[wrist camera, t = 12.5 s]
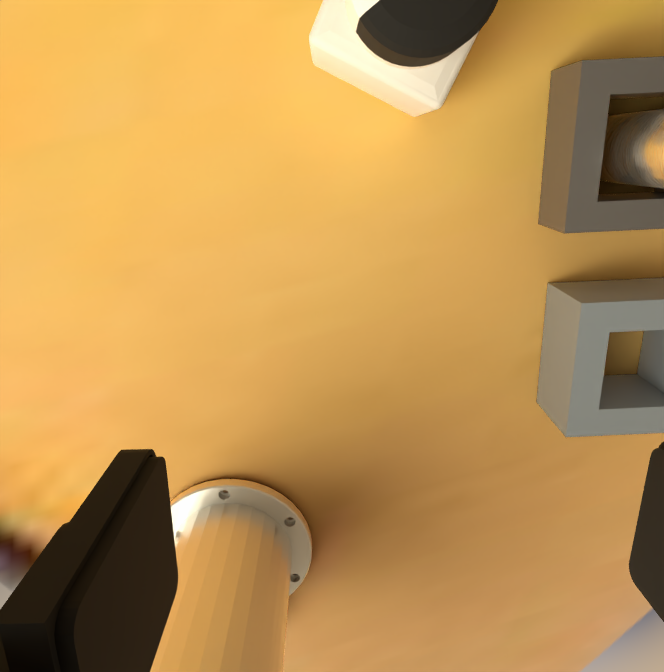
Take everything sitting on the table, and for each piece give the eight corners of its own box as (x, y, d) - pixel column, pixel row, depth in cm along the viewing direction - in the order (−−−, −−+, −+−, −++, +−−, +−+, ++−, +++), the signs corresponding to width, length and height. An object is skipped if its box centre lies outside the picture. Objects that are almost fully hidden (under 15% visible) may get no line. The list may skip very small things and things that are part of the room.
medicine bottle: (475, -3, 30) (566, -94, 19) (416, 119, 32) (465, 103, 21) (363, -67, 29) (388, -205, 18) (310, 64, 31) (301, 16, 20)
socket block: (658, 396, 39) (705, 430, 34) (536, 402, 39) (565, 437, 34) (680, 276, 36) (734, 296, 31) (547, 282, 36) (581, 303, 31)
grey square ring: (676, 217, 34) (719, 226, 31) (538, 223, 34) (564, 233, 31) (702, 63, 31) (754, 52, 28) (551, 71, 31) (582, 60, 28)
